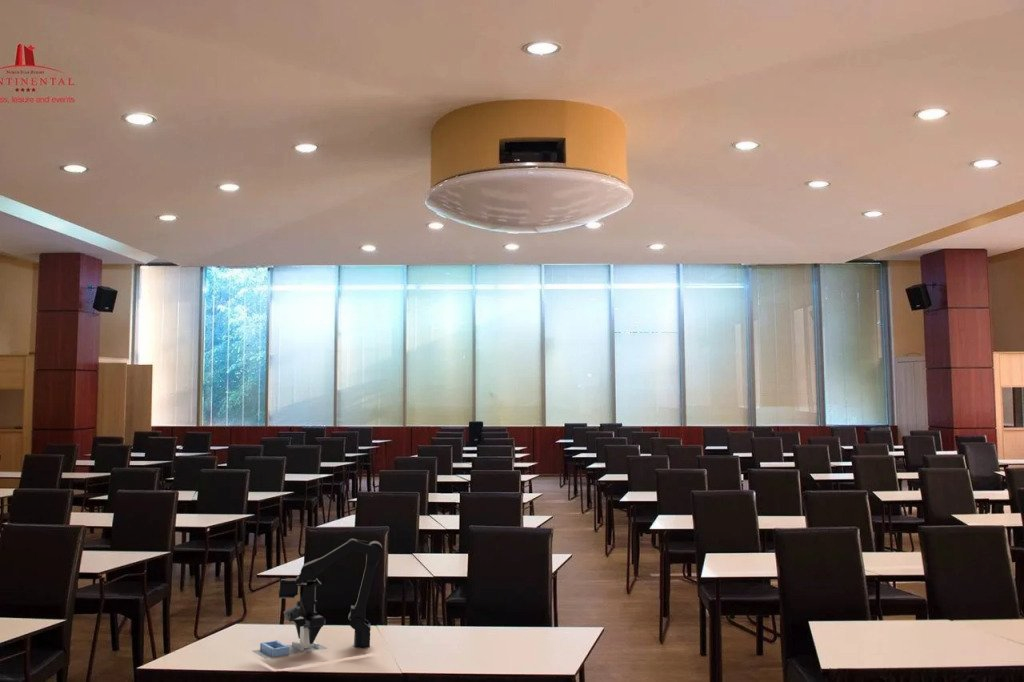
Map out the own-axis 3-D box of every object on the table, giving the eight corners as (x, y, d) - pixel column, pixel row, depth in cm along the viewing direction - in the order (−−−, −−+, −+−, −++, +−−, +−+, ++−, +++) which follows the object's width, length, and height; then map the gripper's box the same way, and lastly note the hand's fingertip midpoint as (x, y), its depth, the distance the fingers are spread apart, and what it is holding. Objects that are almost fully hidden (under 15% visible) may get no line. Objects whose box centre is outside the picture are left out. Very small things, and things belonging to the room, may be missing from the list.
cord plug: (311, 647, 313) (312, 625, 314) (303, 648, 311) (304, 626, 312) (307, 645, 315) (308, 623, 316) (299, 646, 313) (300, 624, 314)
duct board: (327, 650, 312) (327, 641, 313) (265, 661, 297) (265, 651, 297) (312, 643, 321) (313, 634, 322) (251, 653, 306) (252, 643, 307)
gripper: (276, 596, 317) (274, 638, 316) (298, 605, 303) (296, 650, 301) (304, 592, 324) (302, 634, 323) (326, 601, 310) (324, 645, 308)
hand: (305, 641), depth 313 cm, fingers open, 9 cm apart
